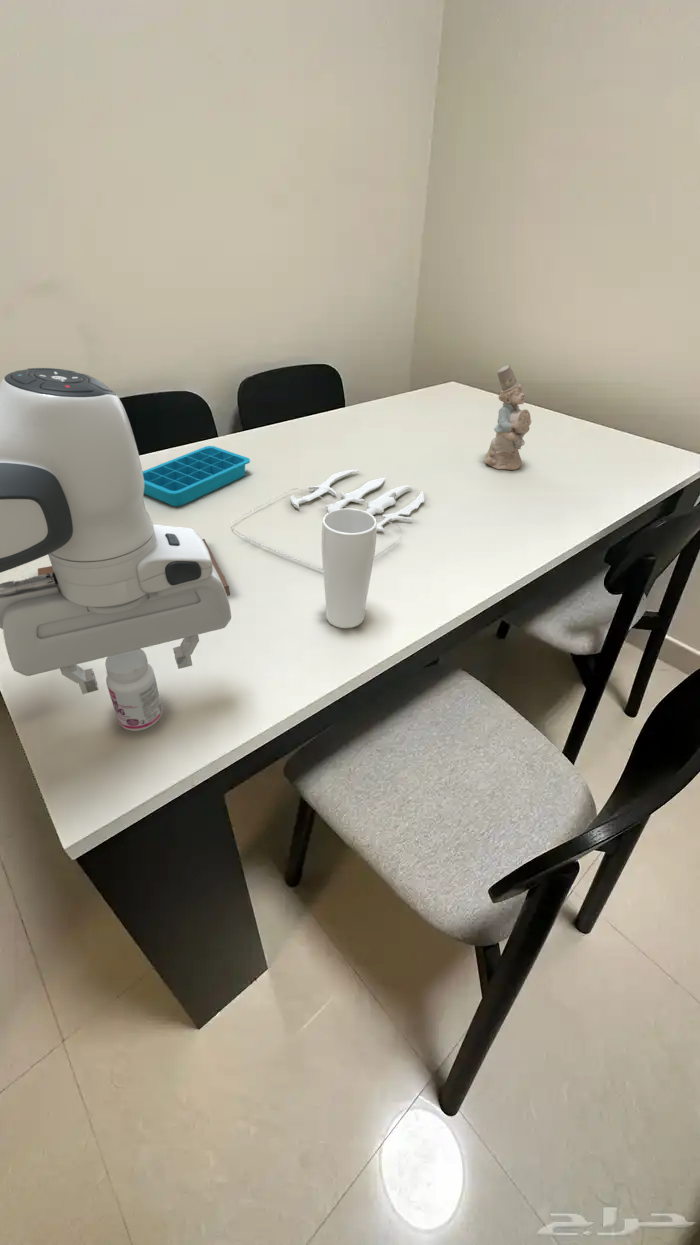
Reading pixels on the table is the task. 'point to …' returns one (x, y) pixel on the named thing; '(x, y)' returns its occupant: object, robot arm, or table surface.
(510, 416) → the figurine
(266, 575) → the table surface
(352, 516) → the drinking glass
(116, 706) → the pill bottle
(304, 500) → the knife set
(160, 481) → the ice cube tray
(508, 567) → the table surface
